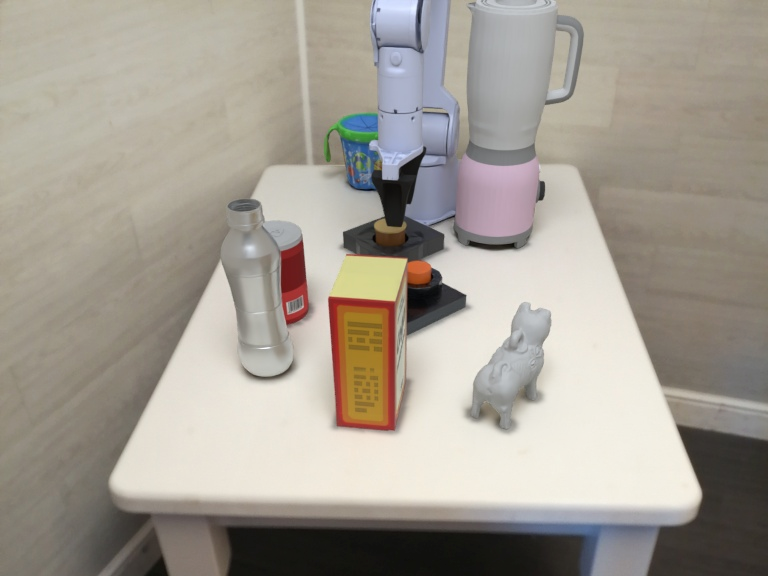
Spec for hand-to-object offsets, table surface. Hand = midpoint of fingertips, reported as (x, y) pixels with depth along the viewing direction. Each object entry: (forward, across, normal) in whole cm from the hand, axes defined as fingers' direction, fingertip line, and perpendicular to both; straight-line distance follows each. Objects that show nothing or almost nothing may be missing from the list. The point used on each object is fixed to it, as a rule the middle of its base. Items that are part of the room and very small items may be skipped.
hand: (399, 214), depth 101 cm
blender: (+8, -14, +14) cm, 22 cm away
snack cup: (+8, -31, -11) cm, 34 cm away
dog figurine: (+8, +30, +18) cm, 36 cm away
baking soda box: (+8, +33, +3) cm, 34 cm away
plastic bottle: (+8, +28, -12) cm, 32 cm away
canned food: (+8, +15, -14) cm, 22 cm away
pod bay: (+8, -6, -2) cm, 11 cm away
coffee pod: (+8, -5, -2) cm, 10 cm away
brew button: (+5, +9, +4) cm, 11 cm away
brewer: (+8, +11, +4) cm, 14 cm away
